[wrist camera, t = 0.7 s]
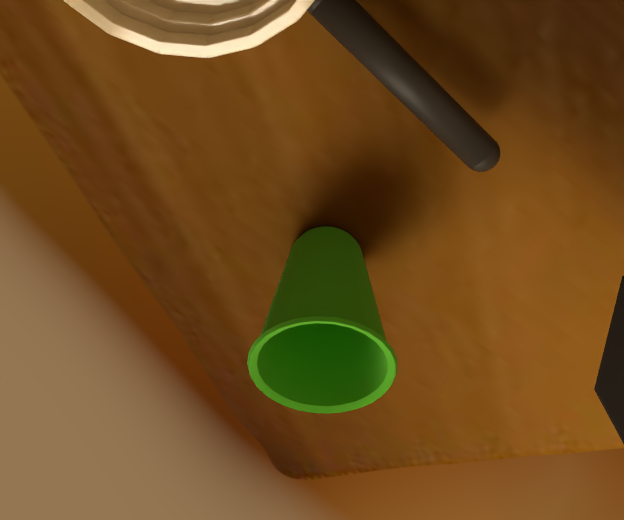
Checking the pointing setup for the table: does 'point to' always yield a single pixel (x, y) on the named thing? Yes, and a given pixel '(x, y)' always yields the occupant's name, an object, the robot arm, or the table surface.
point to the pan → (193, 23)
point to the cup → (323, 330)
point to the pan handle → (407, 81)
